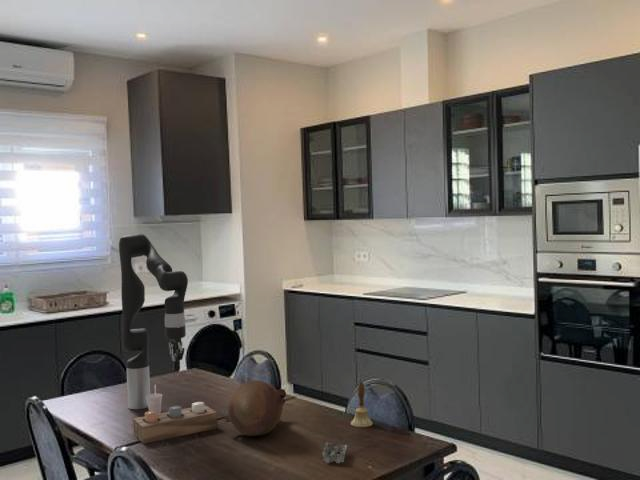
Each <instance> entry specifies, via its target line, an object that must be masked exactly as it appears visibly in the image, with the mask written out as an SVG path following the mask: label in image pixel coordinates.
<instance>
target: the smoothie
mask: <svg viewBox="0 0 640 480" xmlns="http://www.w3.org/2000/svg"><path fill="white" fill-rule="evenodd" d="M153 386H154V393H150V394H149V395H147V396H146V399H147V403H148V407H147V409H148V411H158V414H160V413H162V412H161V411H162V399H163V394H162V393H157V384H154V385H153Z"/></svg>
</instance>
